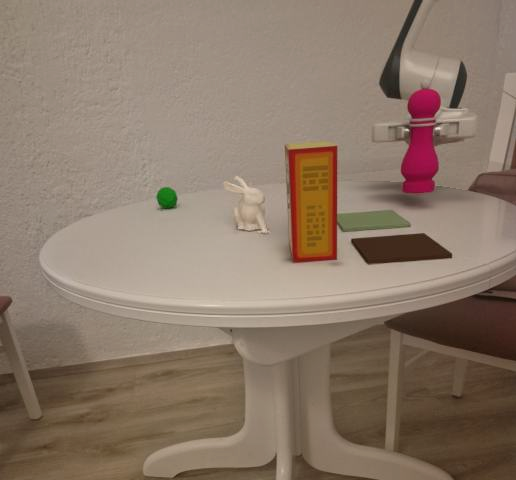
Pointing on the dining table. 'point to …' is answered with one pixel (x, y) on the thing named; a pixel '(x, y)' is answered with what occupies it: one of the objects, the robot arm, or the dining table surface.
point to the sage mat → (371, 220)
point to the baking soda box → (312, 200)
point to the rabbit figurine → (248, 206)
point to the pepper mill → (421, 141)
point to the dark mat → (399, 248)
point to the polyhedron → (167, 198)
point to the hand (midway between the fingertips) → (422, 132)
